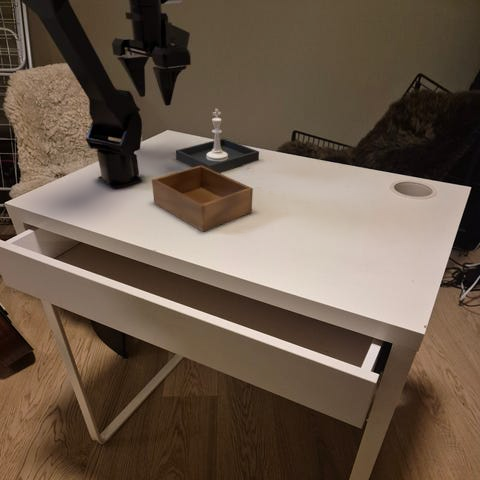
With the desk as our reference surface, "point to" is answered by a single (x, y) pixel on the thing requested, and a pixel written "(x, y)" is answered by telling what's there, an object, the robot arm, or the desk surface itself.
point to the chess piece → (217, 141)
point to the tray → (236, 158)
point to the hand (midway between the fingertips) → (154, 100)
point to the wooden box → (202, 197)
